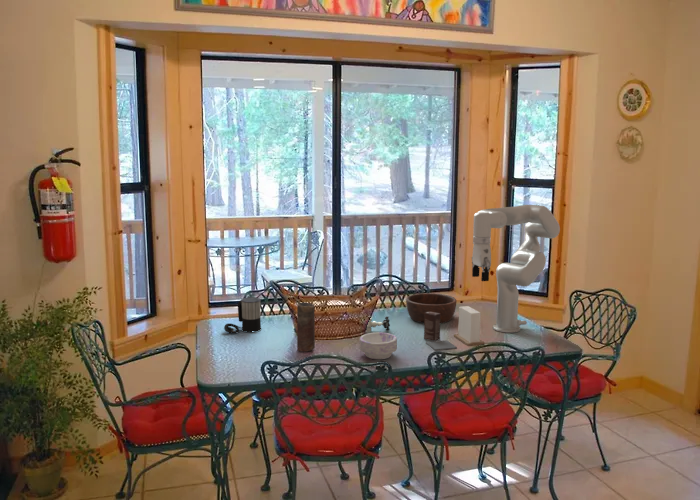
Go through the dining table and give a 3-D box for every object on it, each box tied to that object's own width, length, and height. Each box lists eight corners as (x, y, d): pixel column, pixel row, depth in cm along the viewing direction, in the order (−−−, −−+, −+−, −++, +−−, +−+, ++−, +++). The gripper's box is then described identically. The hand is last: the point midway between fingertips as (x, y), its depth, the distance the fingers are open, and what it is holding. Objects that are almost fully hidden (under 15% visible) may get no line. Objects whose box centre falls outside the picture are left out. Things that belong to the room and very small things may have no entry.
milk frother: (265, 328, 284) (264, 298, 281) (245, 337, 270) (244, 305, 267) (241, 325, 290) (240, 295, 288) (220, 333, 276) (219, 302, 274)
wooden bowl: (404, 311, 314) (404, 292, 313) (452, 312, 313) (453, 293, 312) (407, 325, 289) (407, 304, 288) (459, 325, 288) (459, 305, 287)
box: (440, 339, 267) (440, 313, 265) (434, 341, 264) (435, 315, 262) (429, 336, 271) (429, 310, 269) (423, 338, 268) (423, 312, 266)
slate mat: (446, 341, 264) (446, 340, 264) (456, 348, 254) (456, 347, 254) (425, 343, 261) (425, 342, 261) (434, 350, 252) (434, 349, 252)
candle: (306, 346, 258) (305, 300, 255) (318, 349, 253) (318, 303, 250) (293, 350, 252) (292, 304, 249) (306, 354, 247) (305, 307, 244)
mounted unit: (469, 335, 273) (470, 305, 271) (484, 344, 260) (485, 313, 258) (453, 336, 271) (454, 306, 269) (467, 345, 258) (468, 314, 256)
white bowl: (352, 356, 245) (352, 337, 243) (375, 347, 256) (375, 329, 255) (381, 365, 235) (381, 345, 233) (404, 355, 246) (404, 336, 245)
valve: (364, 333, 276) (389, 332, 278) (364, 319, 275) (389, 318, 277) (361, 329, 283) (386, 328, 285) (361, 316, 282) (386, 314, 284)
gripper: (498, 243, 255) (496, 282, 258) (481, 237, 272) (479, 274, 274) (482, 243, 254) (480, 283, 256) (465, 238, 270) (464, 275, 273)
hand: (480, 278), depth 265 cm, fingers open, 9 cm apart
